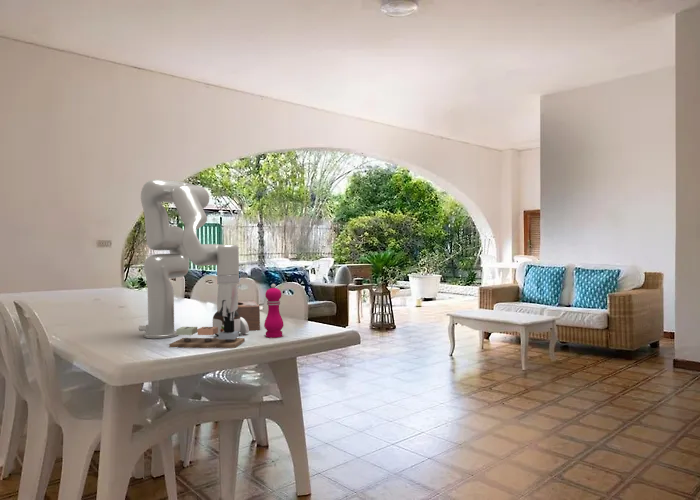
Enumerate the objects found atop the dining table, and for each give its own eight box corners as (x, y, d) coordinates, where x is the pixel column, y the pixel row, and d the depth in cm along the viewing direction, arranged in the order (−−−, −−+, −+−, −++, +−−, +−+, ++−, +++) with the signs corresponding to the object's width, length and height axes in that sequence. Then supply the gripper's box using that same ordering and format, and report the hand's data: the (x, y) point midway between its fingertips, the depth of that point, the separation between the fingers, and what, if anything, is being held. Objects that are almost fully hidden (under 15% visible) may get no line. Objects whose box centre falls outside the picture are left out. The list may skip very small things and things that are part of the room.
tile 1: (176, 334, 192) (176, 328, 192) (182, 332, 197) (182, 326, 197) (191, 335, 191) (191, 328, 191) (197, 332, 197) (197, 326, 197)
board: (169, 347, 189) (169, 341, 189) (182, 341, 201) (182, 335, 201) (235, 347, 187) (235, 342, 187) (244, 341, 199) (244, 335, 199)
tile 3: (218, 339, 191) (218, 333, 191) (223, 336, 196) (223, 330, 196) (234, 339, 190) (234, 333, 190) (238, 336, 196) (238, 330, 196)
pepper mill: (280, 338, 204) (279, 284, 204) (261, 337, 206) (260, 284, 206) (286, 335, 212) (285, 283, 211) (268, 334, 213) (267, 283, 213)
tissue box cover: (259, 330, 224) (259, 306, 223) (223, 332, 220) (223, 307, 220) (254, 322, 248) (253, 300, 248) (221, 323, 245) (221, 301, 245)
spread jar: (209, 337, 209) (209, 306, 209) (226, 332, 219) (226, 303, 219) (236, 338, 205) (236, 307, 204) (252, 334, 215) (252, 304, 215)
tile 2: (197, 335, 191) (197, 328, 191) (202, 332, 197) (202, 326, 197) (213, 335, 191) (212, 328, 191) (218, 332, 196) (217, 326, 196)
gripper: (224, 278, 201) (225, 328, 201) (210, 281, 186) (211, 335, 186) (244, 278, 200) (245, 328, 200) (232, 281, 185) (233, 335, 185)
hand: (229, 331), depth 193 cm, fingers closed
